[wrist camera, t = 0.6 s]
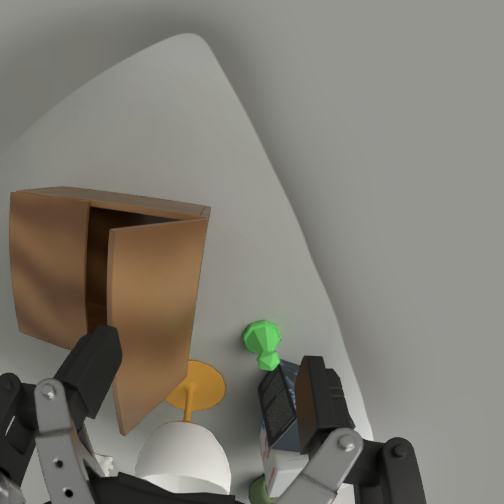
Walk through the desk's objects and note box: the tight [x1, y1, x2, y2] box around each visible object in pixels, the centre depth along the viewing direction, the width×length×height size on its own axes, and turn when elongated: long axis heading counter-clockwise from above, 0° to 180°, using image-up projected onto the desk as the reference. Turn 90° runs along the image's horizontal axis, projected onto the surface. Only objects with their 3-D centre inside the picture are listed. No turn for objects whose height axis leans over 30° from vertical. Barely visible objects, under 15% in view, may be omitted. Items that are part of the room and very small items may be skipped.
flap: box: [107, 219, 208, 436], centre depth 16 cm, size 13×8×1 cm
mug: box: [248, 476, 278, 504], centre depth 36 cm, size 16×13×9 cm
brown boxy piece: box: [9, 186, 211, 350], centre depth 23 cm, size 13×17×9 cm
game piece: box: [243, 320, 281, 371], centre depth 28 cm, size 4×4×6 cm
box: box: [258, 359, 356, 452], centre depth 28 cm, size 8×6×11 cm
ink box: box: [259, 416, 309, 498], centre depth 29 cm, size 9×5×12 cm, turn 176°
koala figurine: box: [94, 453, 114, 477], centre depth 29 cm, size 8×7×12 cm
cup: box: [135, 360, 231, 495], centre depth 24 cm, size 9×9×16 cm
